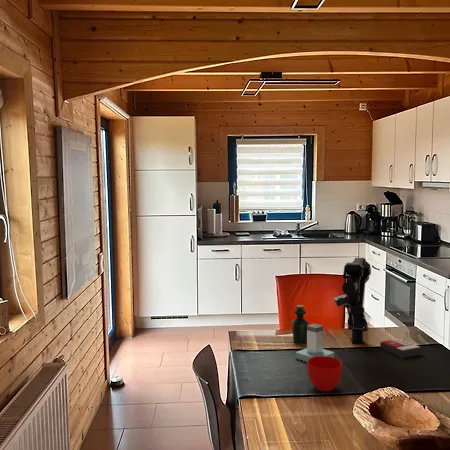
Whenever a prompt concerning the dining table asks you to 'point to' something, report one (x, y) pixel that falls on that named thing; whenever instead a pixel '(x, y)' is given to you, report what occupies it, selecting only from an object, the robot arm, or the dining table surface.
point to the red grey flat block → (400, 348)
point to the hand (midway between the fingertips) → (352, 323)
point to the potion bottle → (299, 326)
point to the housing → (315, 339)
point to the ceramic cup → (324, 372)
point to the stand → (306, 356)
